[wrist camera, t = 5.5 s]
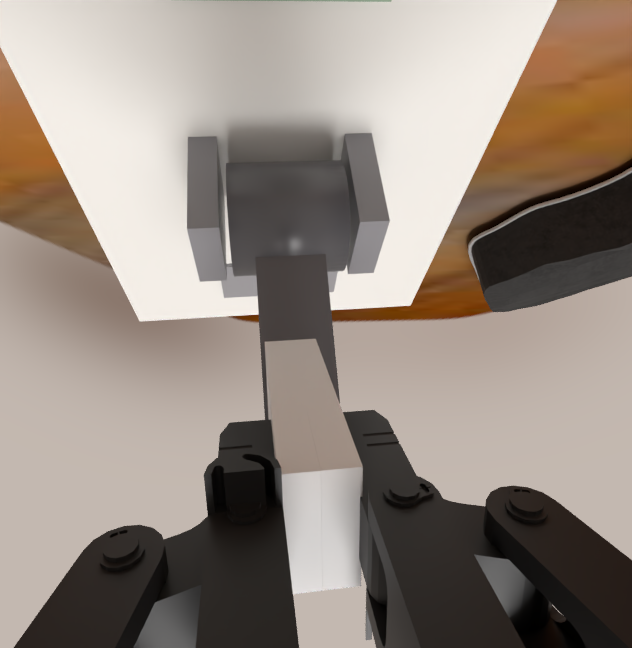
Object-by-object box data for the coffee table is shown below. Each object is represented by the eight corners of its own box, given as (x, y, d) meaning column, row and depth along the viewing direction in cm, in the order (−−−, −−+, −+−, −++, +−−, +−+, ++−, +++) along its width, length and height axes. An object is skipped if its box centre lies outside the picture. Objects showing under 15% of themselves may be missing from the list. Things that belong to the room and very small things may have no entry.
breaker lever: (342, 137, 18) (386, 536, 15) (329, 193, 22) (361, 519, 19) (223, 139, 17) (243, 552, 14) (231, 196, 21) (248, 530, 18)
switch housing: (589, -372, 13) (797, -191, 8) (393, 226, 34) (423, 366, 30) (-107, -437, 11) (-306, -252, 7) (144, 236, 32) (136, 387, 28)
